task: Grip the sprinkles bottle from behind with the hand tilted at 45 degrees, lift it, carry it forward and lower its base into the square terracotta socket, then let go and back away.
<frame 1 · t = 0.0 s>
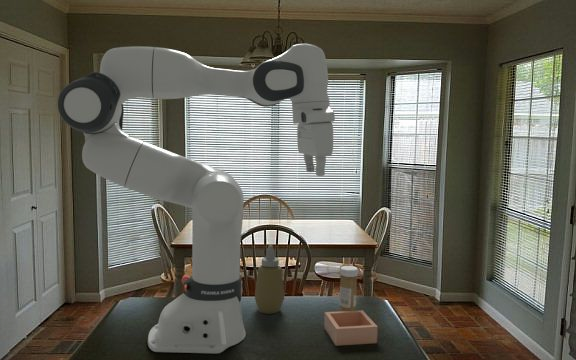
hand: (315, 173, 111), 39 cm above the table, tool pointing down, fingers open, 8 cm apart
terracotta socket: (349, 335, 113), on the table
sprinkles bottle: (347, 317, 124), on the table
squeeze bottle: (269, 310, 127), on the table
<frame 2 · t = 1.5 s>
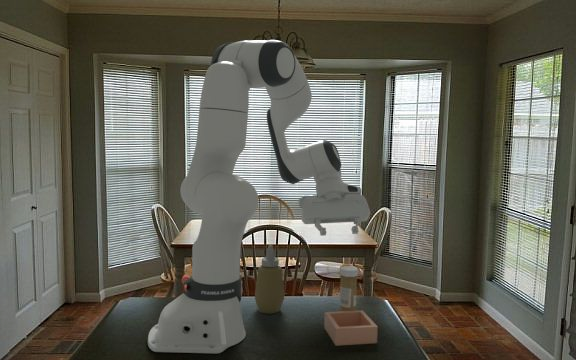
hand: (339, 233, 134), 20 cm above the table, tool tilted 45°, fingers open, 8 cm apart
nothing on the table moved.
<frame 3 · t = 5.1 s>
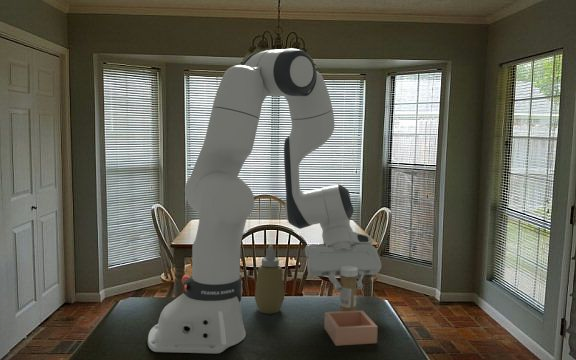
hand: (349, 288, 123), 8 cm above the table, tool tilted 45°, fingers closed on sprinkles bottle, 4 cm apart
sprinkles bottle: (347, 317, 124), on the table, touching gripper
everything else where it was.
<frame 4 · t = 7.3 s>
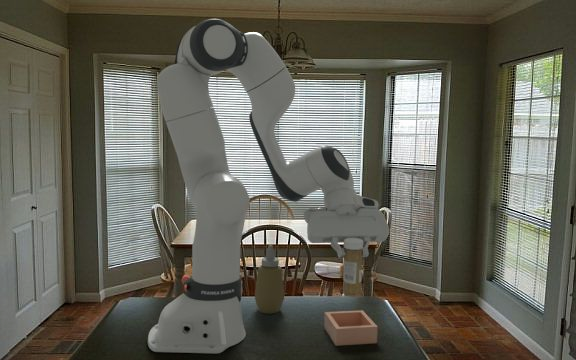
hand: (353, 256, 110), 20 cm above the table, tool tilted 45°, fingers closed on sprinkles bottle, 4 cm apart
sprinkles bottle: (351, 294, 112), point 10 cm above the table, touching gripper
everything else where it was.
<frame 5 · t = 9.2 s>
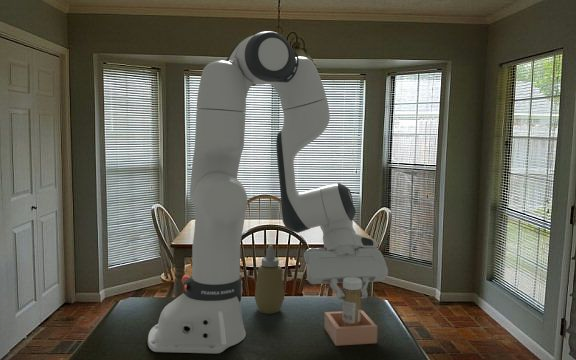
hand: (352, 297, 111), 10 cm above the table, tool tilted 45°, fingers closed on sprinkles bottle, 4 cm apart
sprinkles bottle: (350, 333, 113), resting on terracotta socket, touching gripper
everything else where it was.
when the fingers open (9 cm above the table, at t = 9.5 s): sprinkles bottle stays where it is, resting on terracotta socket.
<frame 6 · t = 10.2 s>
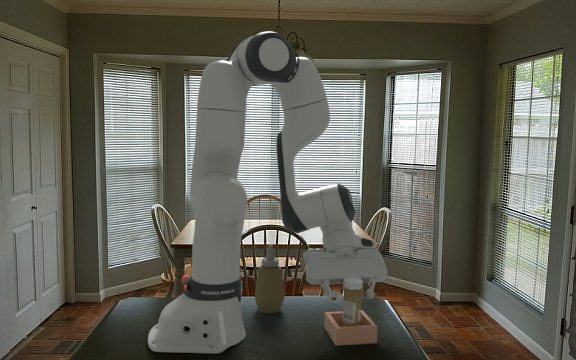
hand: (352, 298, 111), 9 cm above the table, tool tilted 45°, fingers open, 8 cm apart
sprinkles bottle: (350, 333, 113), resting on terracotta socket
everything else where it was.
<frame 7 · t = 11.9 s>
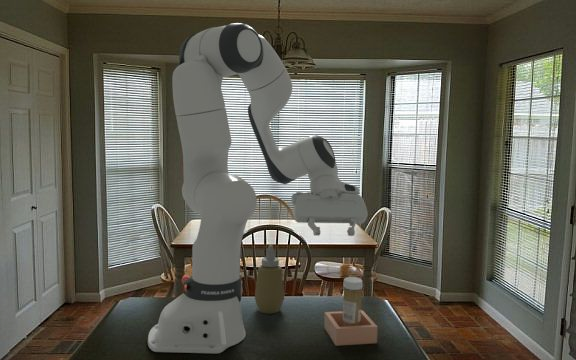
hand: (334, 234, 123), 22 cm above the table, tool tilted 45°, fingers open, 8 cm apart
nothing on the table moved.
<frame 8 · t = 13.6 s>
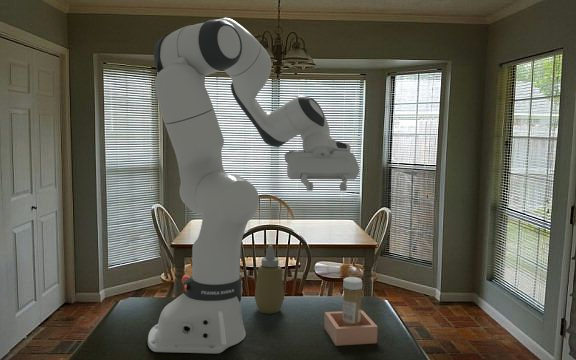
hand: (327, 189, 126), 33 cm above the table, tool tilted 45°, fingers open, 8 cm apart
nothing on the table moved.
at the end: sprinkles bottle 0.4 cm off-centre on the terracotta socket, point 0.2 cm above the terracotta socket's base; sprinkles bottle tilted 0°; the gripper is holding nothing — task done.
